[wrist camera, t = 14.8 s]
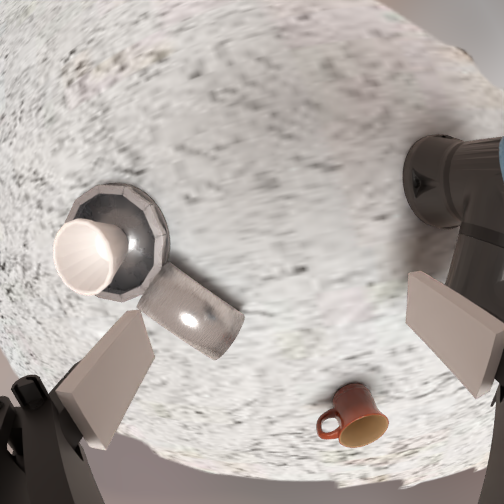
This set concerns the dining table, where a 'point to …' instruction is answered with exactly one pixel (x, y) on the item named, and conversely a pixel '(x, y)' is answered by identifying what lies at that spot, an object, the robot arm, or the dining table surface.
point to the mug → (354, 417)
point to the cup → (89, 254)
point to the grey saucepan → (158, 271)
